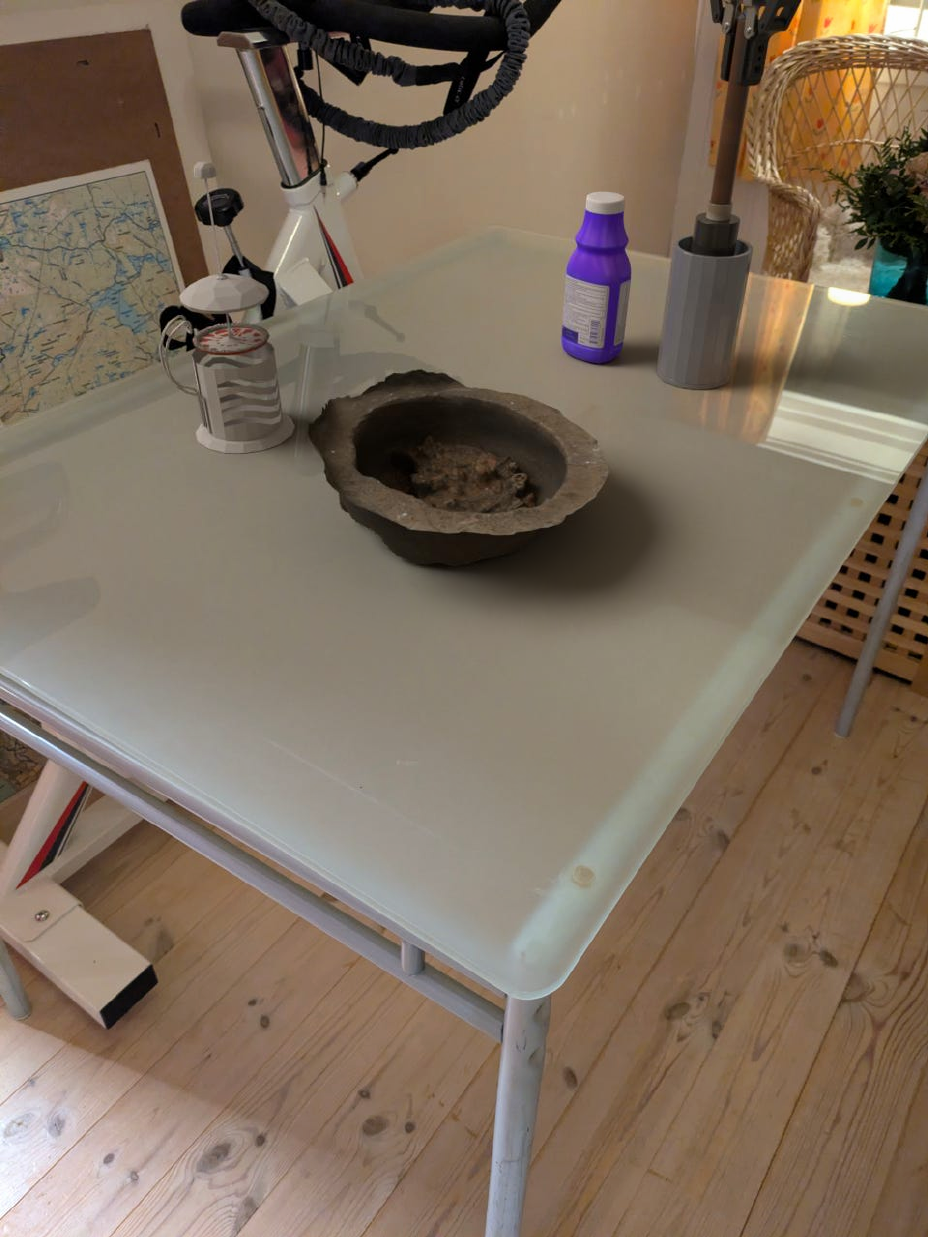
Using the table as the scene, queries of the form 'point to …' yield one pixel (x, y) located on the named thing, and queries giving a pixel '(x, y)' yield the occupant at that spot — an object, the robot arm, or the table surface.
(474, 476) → the stone bowl
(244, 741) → the table surface
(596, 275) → the bottle
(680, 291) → the cylindrical container
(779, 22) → the robot arm
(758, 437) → the table surface
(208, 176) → the french press
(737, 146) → the brush
